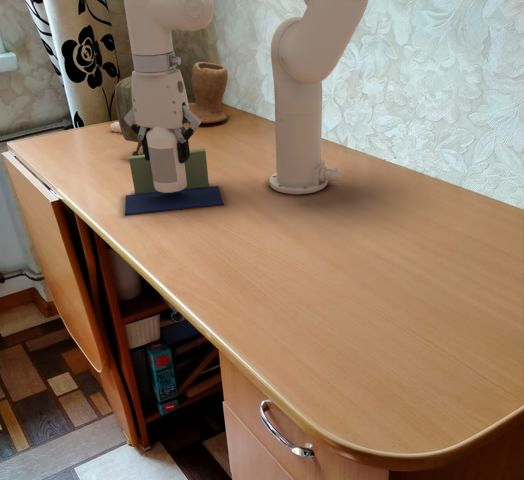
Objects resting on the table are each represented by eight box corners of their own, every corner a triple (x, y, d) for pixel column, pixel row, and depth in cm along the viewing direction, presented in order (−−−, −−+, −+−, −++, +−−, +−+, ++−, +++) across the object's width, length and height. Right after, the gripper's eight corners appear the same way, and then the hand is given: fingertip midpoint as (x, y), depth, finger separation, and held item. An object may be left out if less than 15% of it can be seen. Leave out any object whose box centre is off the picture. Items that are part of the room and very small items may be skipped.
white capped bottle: (152, 183, 121) (137, 93, 110) (183, 179, 123) (172, 89, 112) (157, 195, 116) (142, 101, 105) (190, 190, 117) (179, 97, 107)
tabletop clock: (162, 142, 152) (147, 36, 136) (189, 147, 148) (177, 38, 133) (125, 159, 142) (104, 47, 127) (153, 165, 138) (135, 50, 123)
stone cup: (238, 121, 164) (234, 63, 155) (201, 129, 159) (195, 70, 150) (213, 110, 175) (208, 55, 165) (177, 117, 170) (170, 61, 161)
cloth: (223, 205, 118) (223, 203, 118) (125, 215, 116) (124, 213, 115) (218, 187, 125) (218, 185, 125) (126, 196, 123) (125, 195, 123)
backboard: (209, 187, 126) (205, 151, 121) (135, 195, 124) (128, 158, 119) (208, 185, 127) (204, 148, 122) (135, 192, 125) (128, 156, 120)
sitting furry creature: (139, 123, 166) (132, 79, 159) (155, 129, 161) (148, 83, 153) (110, 131, 162) (101, 85, 154) (125, 137, 156) (116, 90, 149)
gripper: (205, 60, 106) (214, 156, 116) (122, 57, 110) (137, 150, 121) (189, 69, 100) (199, 169, 111) (102, 65, 105) (120, 162, 115)
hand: (167, 159), depth 116 cm, fingers closed on white capped bottle, 6 cm apart
